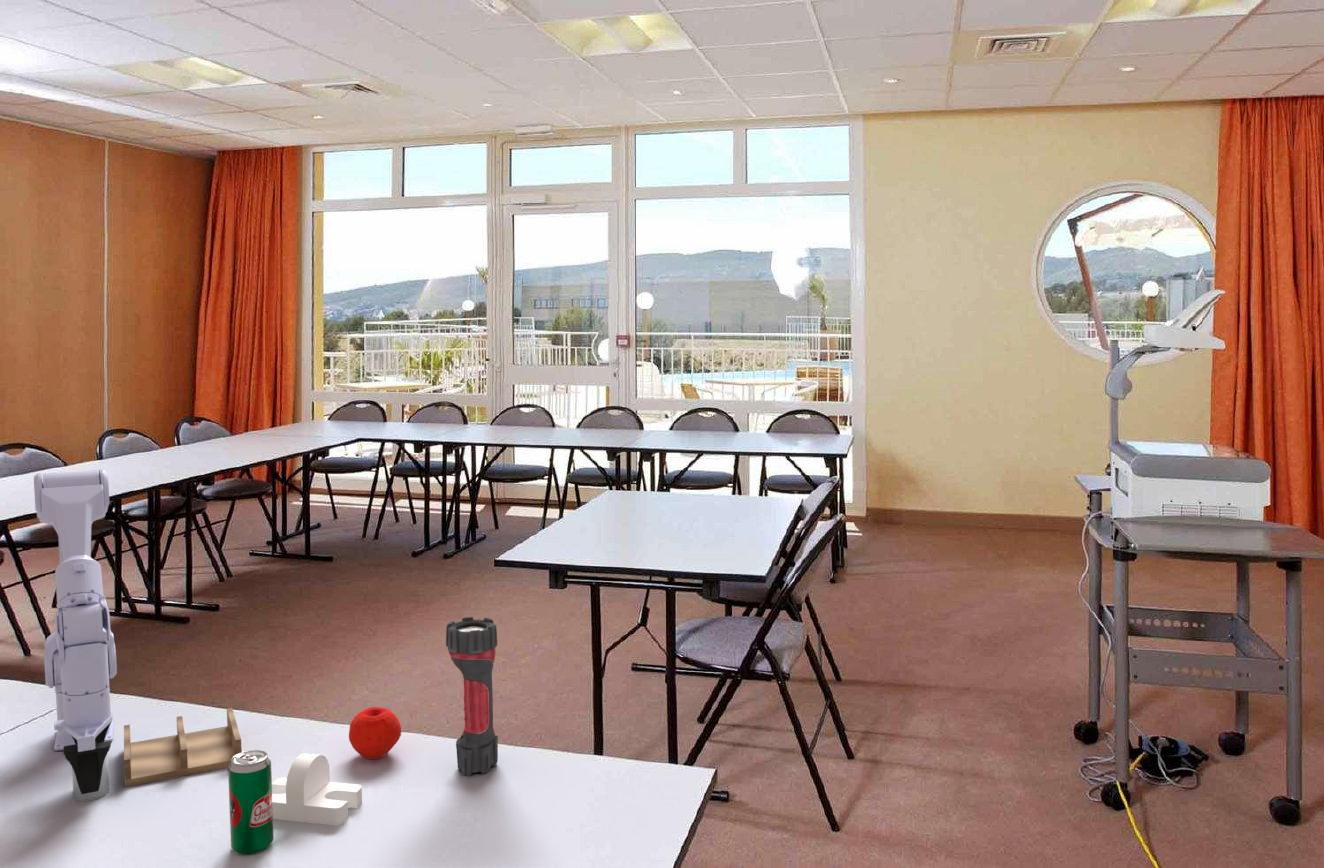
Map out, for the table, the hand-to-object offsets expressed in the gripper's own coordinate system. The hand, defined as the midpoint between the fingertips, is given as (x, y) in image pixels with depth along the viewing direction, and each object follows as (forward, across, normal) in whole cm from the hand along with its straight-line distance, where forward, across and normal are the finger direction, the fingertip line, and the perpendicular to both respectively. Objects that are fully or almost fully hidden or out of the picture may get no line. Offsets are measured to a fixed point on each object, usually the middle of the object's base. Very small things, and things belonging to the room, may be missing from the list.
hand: (90, 780), depth 138 cm
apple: (+2, +6, +38) cm, 39 cm away
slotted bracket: (+2, +19, +26) cm, 33 cm away
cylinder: (+2, 0, 0) cm, 2 cm away
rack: (+2, -7, +12) cm, 14 cm away
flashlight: (+2, +18, +50) cm, 54 cm away
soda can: (+2, +26, +18) cm, 32 cm away
